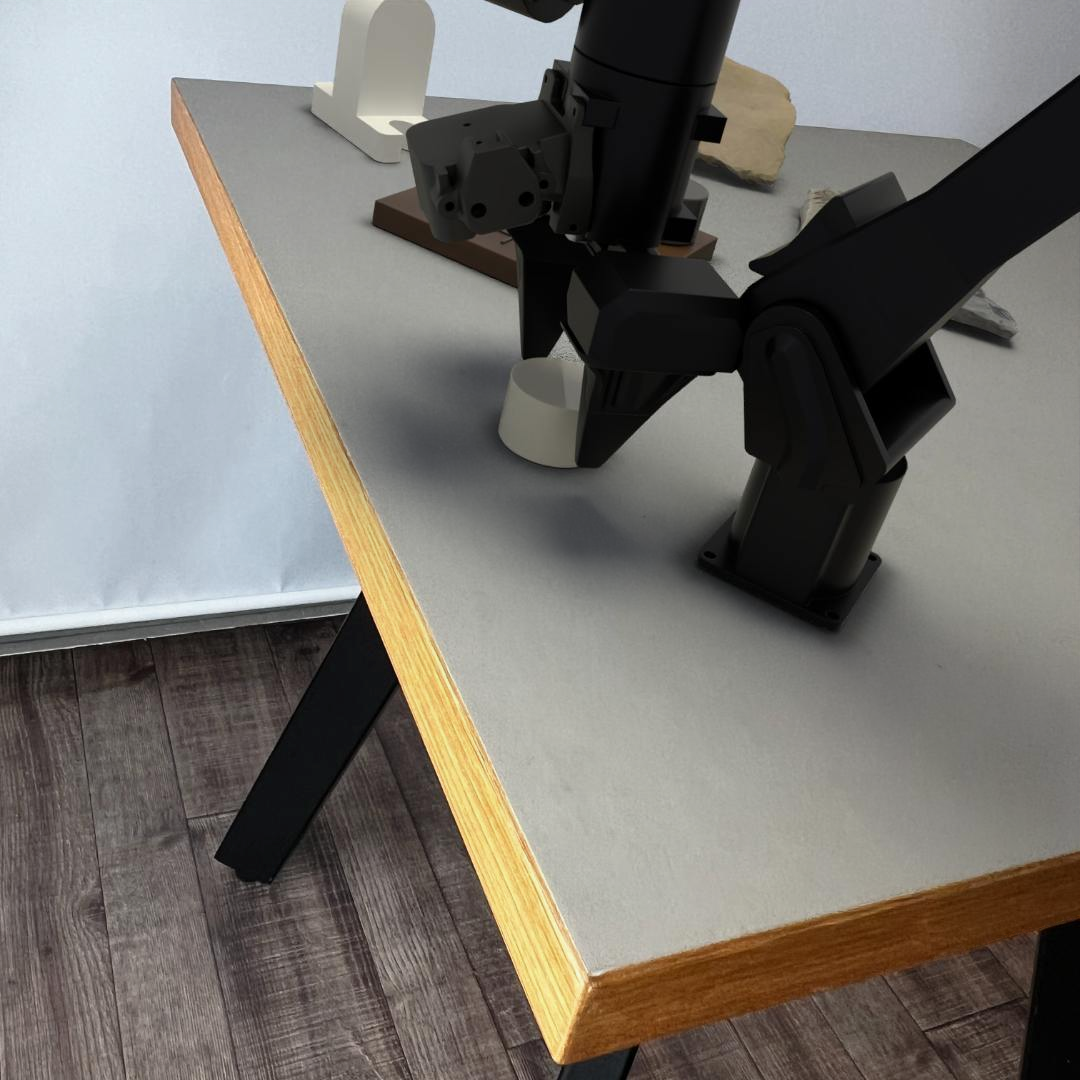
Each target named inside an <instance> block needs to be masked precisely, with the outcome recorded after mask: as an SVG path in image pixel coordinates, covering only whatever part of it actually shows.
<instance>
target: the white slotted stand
mask: <svg viewBox="0 0 1080 1080" xmlns="http://www.w3.org/2000/svg"><path fill="white" fill-rule="evenodd" d="M436 26H437V25H436V19H435V14H434V13H433V10H432V8H431V6H430V4H429V3H428V1H426V0H345V3H344V4H343V7H342V12H341V19H340V26H339V34H338V44H337V49H336V50H337V51H336V60H335V69H334V76H333V77H334V78H333V82H332V81H315V82H314V85H313V93H312V101H311V102H312V103H311V112H310V113H312V114H313V115H314V116H315V117H317V118H318V119H319V120H320V121H322V122H324V123H325V124H326V125H327V126H329V127H330V128H331V129H333V130H334V131H335V132H337V133H338V134H339V135H341V136H342V137H343V138H344V139H346V140H347V141H349V142H350V143H351V144H352V145H354V146H355V147H357V148H358V149H359V150H360V151H362V152H363V153H365V154H366V155H367V156H369V157H370V158H371V159H373V160H375V161H376V162H379V163H385V164H386V163H387V164H388V163H400V162H401V155H402V150H405V151H408V152H409V149H408V144H407V139H406V131H407V130H408V129H409V128H410V127H411V126H413V125H415V124H417V123H420V122H424V121H428V120H429V119H427V118H426V117H424V116H423V113H424V106H425V101H426V94H427V88H428V83H429V76H430V68H431V63H432V57H433V50H434V45H435V37H436Z"/></svg>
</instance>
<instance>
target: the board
mask: <svg viewBox="0 0 1080 1080" xmlns="http://www.w3.org/2000/svg"><path fill="white" fill-rule="evenodd" d="M371 224H372V225H374V226H376V227H378V228H381V229H383V230H385V231H388V232H389V233H391V234H394V235H397V236H399V237H401V238H403V239H405V240H407V241H410V242H412V243H415V244H417V245H419V246H422V247H424V248H426V249H428V250H431V251H433V252H435V253H437V254H440V255H442V256H443V257H446V258H448V259H451V260H453V261H456V262H458V263H460V264H462V265H465V266H467V267H469V268H471V269H474V270H476V271H478V272H481V273H483V274H485V275H487V276H490V277H492V278H494V279H496V280H499V281H501V282H504V283H506V284H507V285H510V286H512V287H515V288H517V289H518V279H517V262H516V249H515V242H514V240H513V239H512V237H511V236H510V235H509V233H508V232H507V230H506V229H505V230H501V231H497V232H493V233H489V234H484V235H478V234H476V236H475V237H474V238H473V239H469V240H465V241H460V242H443V241H440V240H438V239H436V238H435V237H434V236H433V234H432V231H431V228H430V225H429V223H428V220H427V218H426V216H425V214H424V212H423V211H422V210H421V208H420V204H419V199H418V194H417V189H416V186H413V187H410V188H407V189H404V190H402V191H398V192H395V193H393V194H389V195H387V196H384V197H381V198H378V199H375V200H374V206H373V213H372V219H371ZM718 240H719V237H718V236H715V235H712V234H710V233H708V232H706V231H703V230H700V229H699V231H698V234H697V237H696V240H695V241H694V242H693V243H690V244H685V245H673V244H666V243H661V242H660V245H659V247H657V248H655V249H656V250H657V252H658V253H659V254H660V255H661V256H671V257H681V258H691V259H701V260H707V261H708V262H709V261H711V260H712V259H713V257H714V253H715V250H716V246H717V243H718Z"/></svg>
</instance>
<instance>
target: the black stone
mask: <svg viewBox="0 0 1080 1080" xmlns="http://www.w3.org/2000/svg"><path fill="white" fill-rule="evenodd" d="M709 197H710V192H709V190H708V189H707V188H706V187H705V186H704V185H702V184H701V183H699V182H697V181H695V180H693V179H691V178H690V179H689V182H688V186H687V189H686V193H685V196H684V200H683V204H684V205H685V206H686V207H687V208H688V210H689V211H690V212H691V213H692V214H693V215H694V216H695V217H696V219H697V224H696V227H695V230H694V234H693V237H692V240H691V243H693V242H694V241H695V240H696V237H697V234H698V231H699V230H700V227H701V224H702V221H703V217H704V214H705V210H706V207H707V204H708V200H709ZM660 242H661V243H666V244H673V245H685V244H690V243H685V242H675V241H666V240H661V241H660Z"/></svg>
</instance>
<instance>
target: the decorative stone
mask: <svg viewBox="0 0 1080 1080" xmlns="http://www.w3.org/2000/svg"><path fill="white" fill-rule="evenodd" d="M711 104H712V105H714V106H715V107H716V108H717V109H718V110H719V111H720V112H721V113H722V114H724V115H725V116H726V117H727V118H728V119H727V122H726V126H725V129H724V132H723V136H722V139H721V143H720V144H717V143H710V142H703V141H700V144H699V148H698V151H697V155H696V158H695V160H702V161H705V163H706V164H707V165H711V166H713V167H714V168H718V167H722V168H724V169H728V170H730V171H731V172H732V173H733V174H735V175H737V176H738V177H739V178H740V179H743V180H746V181H747V183H749V184H751V185H759V184H760V185H764V186H772V185H773V184H775V182H776V181H777V179H778V177H779V173H780V170H781V168H782V167H783V165H784V162H785V160H786V151H785V150H786V145H787V143H788V141H789V139H790V137H791V135H792V133H793V131H794V129H795V127H796V122H797V121H796V120H797V109H796V106H795V105H794V104H793V103H792V98H791V92H790V89H788V88H787V87H786V86H785V85H784V84H783V83H782V82H781V81H779V80H778V79H777V78H775V77H773V76H771V75H769V74H768V73H765V72H761V71H760V70H757V69H755V68H753V67H750V66H747V65H746V64H742V63H740V62H737V61H736V60H733V59H732V58H730V57H727V56H726V55H725V57H724V60H723V64H722V67H721V71H720V74H719V78H718V81H717V85H716V88H715V92H714V95H713V99H712V102H711Z"/></svg>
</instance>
